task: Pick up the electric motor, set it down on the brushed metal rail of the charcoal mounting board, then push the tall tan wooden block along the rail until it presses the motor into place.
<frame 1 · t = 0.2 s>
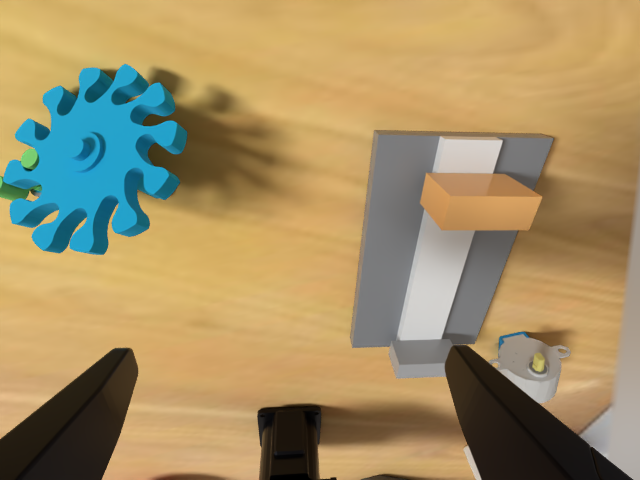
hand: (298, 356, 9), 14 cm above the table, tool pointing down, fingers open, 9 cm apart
gear: (120, 141, 20), on the table
tall tan wooden block: (475, 200, 19), point 4 cm above the table, slide at 0.0 cm
medicine bottle: (500, 440, 41), on the table
electric motor: (509, 338, 32), on the table
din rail: (430, 251, 26), on the table
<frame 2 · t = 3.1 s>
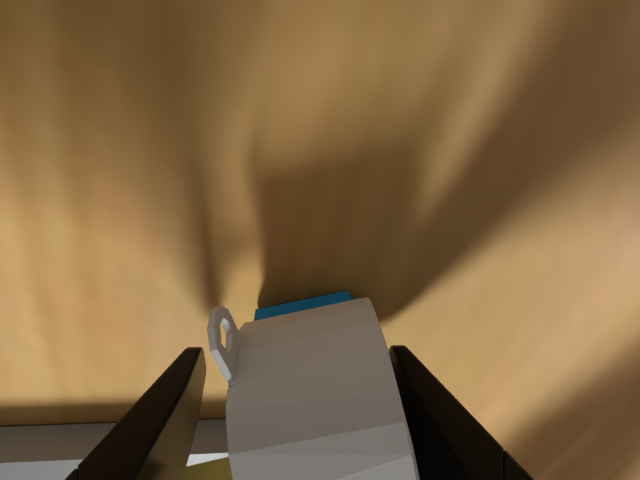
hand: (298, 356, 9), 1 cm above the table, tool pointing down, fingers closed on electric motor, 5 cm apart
electric motor: (292, 324, 10), on the table, touching gripper
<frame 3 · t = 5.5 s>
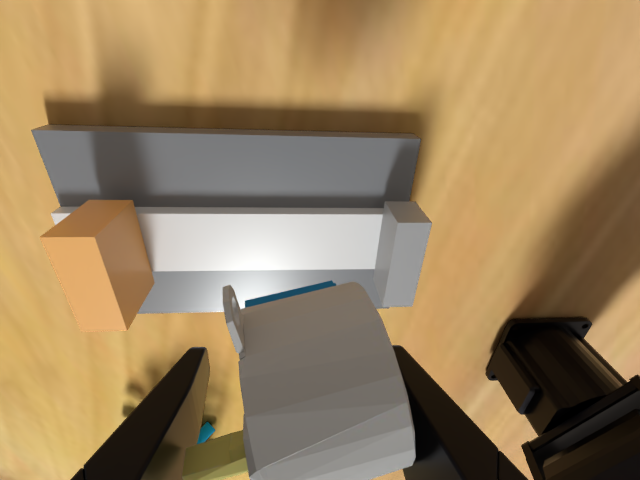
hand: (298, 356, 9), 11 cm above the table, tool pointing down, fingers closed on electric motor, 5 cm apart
tall tan wooden block: (107, 264, 16), point 4 cm above the table, slide at 0.0 cm
electric motor: (276, 316, 11), point 9 cm above the table, touching gripper
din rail: (246, 226, 19), on the table
when the fingers open (4 cm above the table, at t = 7.4 s): electric motor stays where it is, resting on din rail.
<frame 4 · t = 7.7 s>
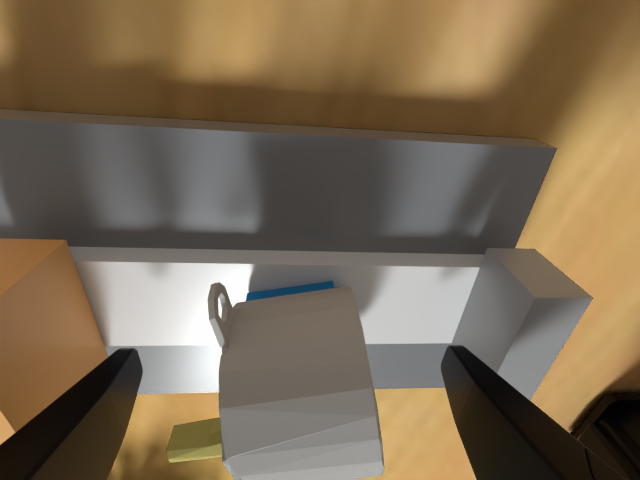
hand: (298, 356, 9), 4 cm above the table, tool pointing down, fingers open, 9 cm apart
tall tan wooden block: (15, 354, 9), point 4 cm above the table, slide at 0.0 cm
electric motor: (279, 310, 11), point 2 cm above the table, touching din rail
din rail: (257, 272, 13), on the table
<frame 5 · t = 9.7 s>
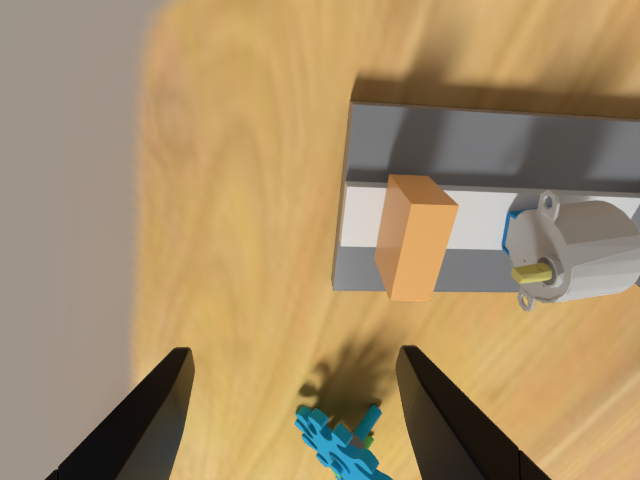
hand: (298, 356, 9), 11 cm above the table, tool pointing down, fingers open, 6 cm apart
gear: (338, 414, 30), on the table
tall tan wooden block: (409, 236, 16), point 4 cm above the table, slide at 0.0 cm
electric motor: (516, 226, 19), point 2 cm above the table, touching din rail
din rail: (486, 207, 20), on the table
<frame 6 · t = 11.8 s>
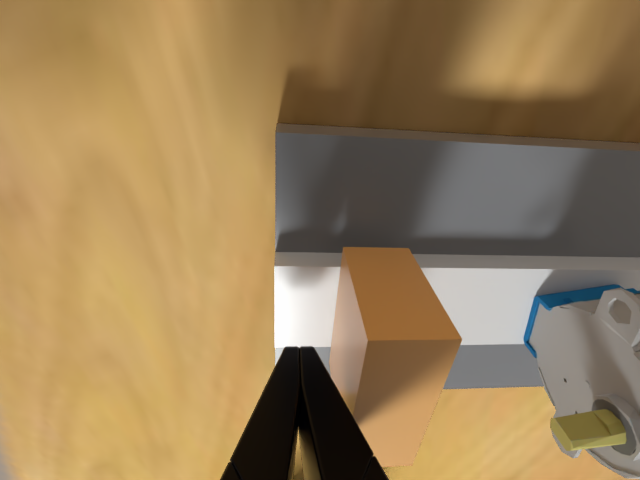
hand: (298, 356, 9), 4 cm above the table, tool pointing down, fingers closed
tall tan wooden block: (376, 353, 10), point 4 cm above the table, slide at 0.0 cm, touching gripper
electric motor: (546, 311, 12), point 2 cm above the table, touching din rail
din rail: (499, 275, 13), on the table
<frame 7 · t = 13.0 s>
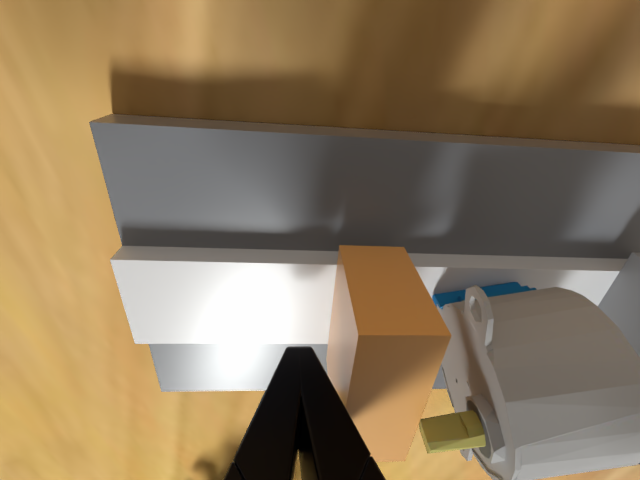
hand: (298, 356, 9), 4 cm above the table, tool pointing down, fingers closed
tall tan wooden block: (371, 350, 10), point 4 cm above the table, slide at 4.7 cm, touching electric motor, gripper
electric motor: (451, 310, 12), point 2 cm above the table, touching tall tan wooden block, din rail
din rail: (383, 273, 13), on the table
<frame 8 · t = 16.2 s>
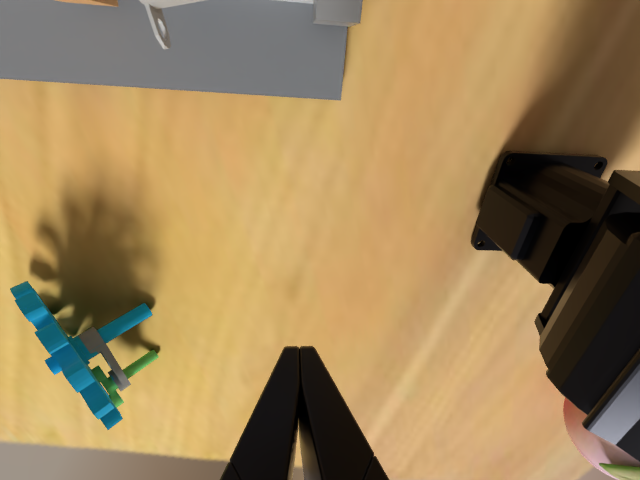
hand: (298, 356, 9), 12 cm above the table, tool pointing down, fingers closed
gear: (105, 315, 24), on the table
decorative fruit: (584, 366, 31), on the table
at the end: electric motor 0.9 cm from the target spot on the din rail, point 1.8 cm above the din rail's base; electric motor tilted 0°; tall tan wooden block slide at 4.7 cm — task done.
